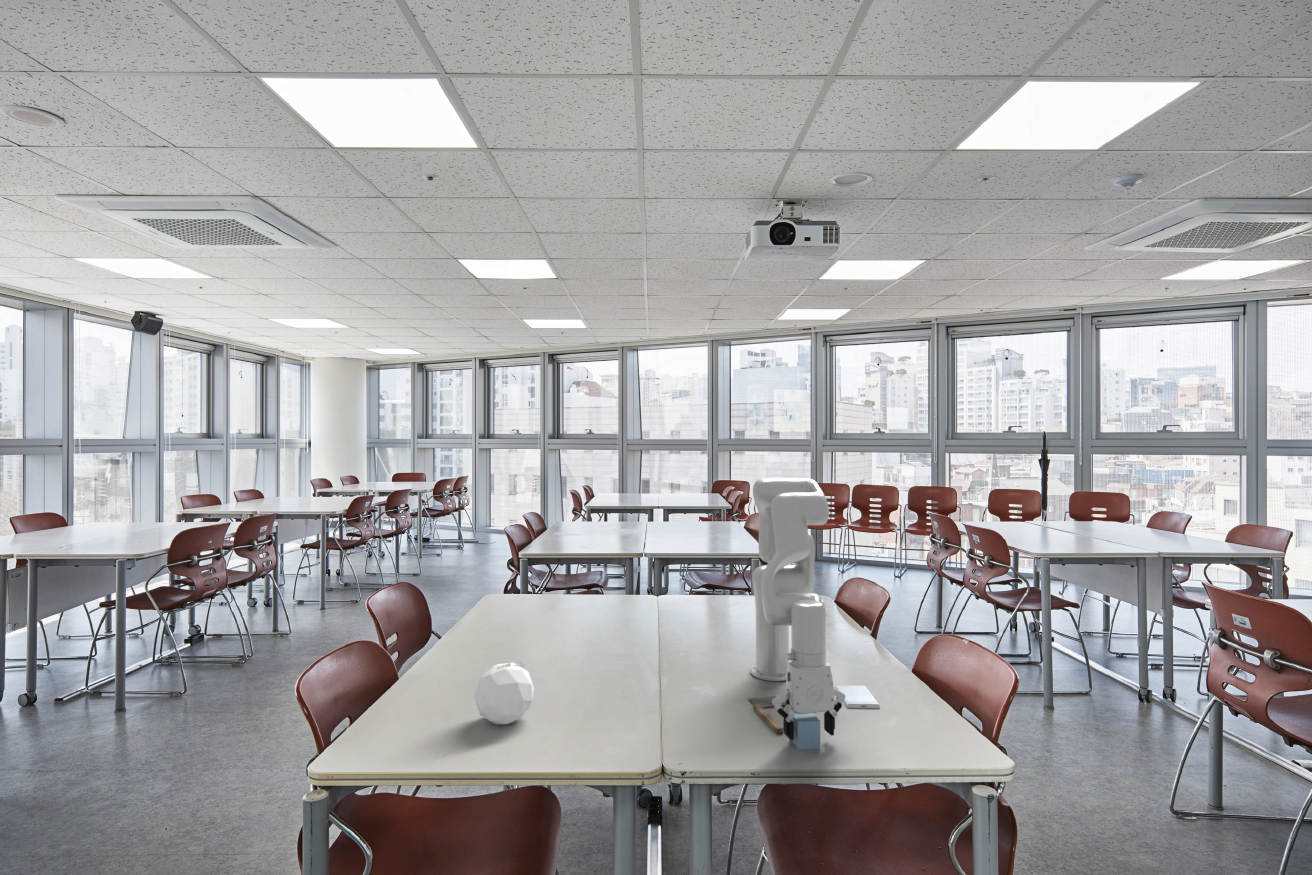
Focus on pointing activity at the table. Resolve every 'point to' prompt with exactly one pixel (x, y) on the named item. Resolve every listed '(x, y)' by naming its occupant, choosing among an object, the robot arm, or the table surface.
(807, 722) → the block
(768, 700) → the guide channel
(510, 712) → the geodesic sphere
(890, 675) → the table surface
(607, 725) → the table surface
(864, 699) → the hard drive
